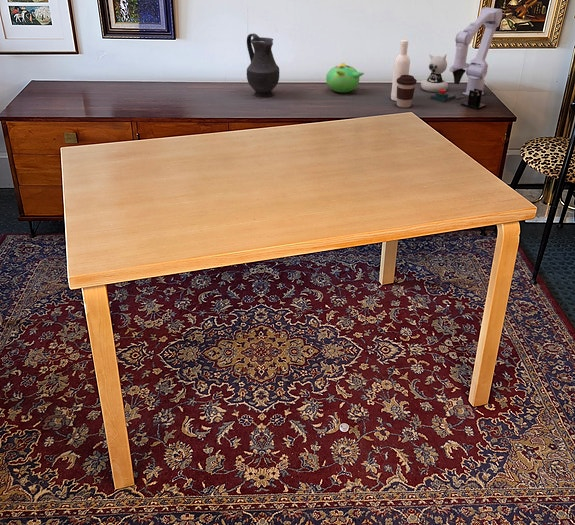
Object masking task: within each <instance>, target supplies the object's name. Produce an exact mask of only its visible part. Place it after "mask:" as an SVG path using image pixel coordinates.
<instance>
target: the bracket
mask: <svg viewBox="0 0 575 525" xmlns="http://www.w3.org/2000/svg"><path fill="white" fill-rule="evenodd" d="M477 91H479V95H478V92H477ZM482 91H483V92H484V89H483V90H479V89H474V91H473V90H470V92H469V97H467V98H468V99H467V101H463V102H461V103H460V106H462V107H466V108H469V109H473V110H477V111H478V110H481V109H484V108H487V104H485V103H481V101H482V95H483V94H482Z"/></svg>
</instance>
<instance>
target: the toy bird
mask: <svg viewBox="0 0 575 525" xmlns="http://www.w3.org/2000/svg"><path fill="white" fill-rule="evenodd" d="M363 75H365V72H364V71H358V70H357V69H356V68H355V67H353V66H351V65H347V64H346V63H345V62H341V63H340V64H339V65H335V66H333V67H332V68H331V69H329V70H328V72H327V73H326V76H325V77H326V78H325V82H326V84H327V87H328V88H329V89H330V90H332V91H333V92H336V93H348V92H351V91H354V90H355V89H356V88H357V87H358V85H359V84H360V80H361V78H360V77H362V76H363Z"/></svg>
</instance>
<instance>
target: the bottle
mask: <svg viewBox="0 0 575 525" xmlns="http://www.w3.org/2000/svg"><path fill="white" fill-rule="evenodd" d="M399 44H400V47H399V54H398V55H397V56H396V57H395V59H394V64H393V65H394V66H393V74H392V84H391V86H392V87H391V93H390V99H391V101H393V102H397V86H398V83H397V78H400V76H401V75H410V66H411V59H410V57H409V56H408V47H409V40H408V39H401V40H400V43H399Z"/></svg>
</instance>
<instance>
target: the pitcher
mask: <svg viewBox="0 0 575 525" xmlns="http://www.w3.org/2000/svg"><path fill="white" fill-rule="evenodd" d="M273 41H274V38H272V37H264V36H263V37H261V36H259V35H258V34H256V33H254V32H253V33H249V34H248V35H247V37H246V48H247V51H248V56H249V60H250V63H249V65H248V66H247V68H246V81H247V83H248V85H249V86H250V88H251V89H253V91H254V96H256V97H258V98H269V97H272V96H273V90H275V88H276V87H277V85H278V83H279V80H280V66H278V64H277V63H276V60H275V57H274V54H273V50H272V47H273V45H274V42H273Z"/></svg>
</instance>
